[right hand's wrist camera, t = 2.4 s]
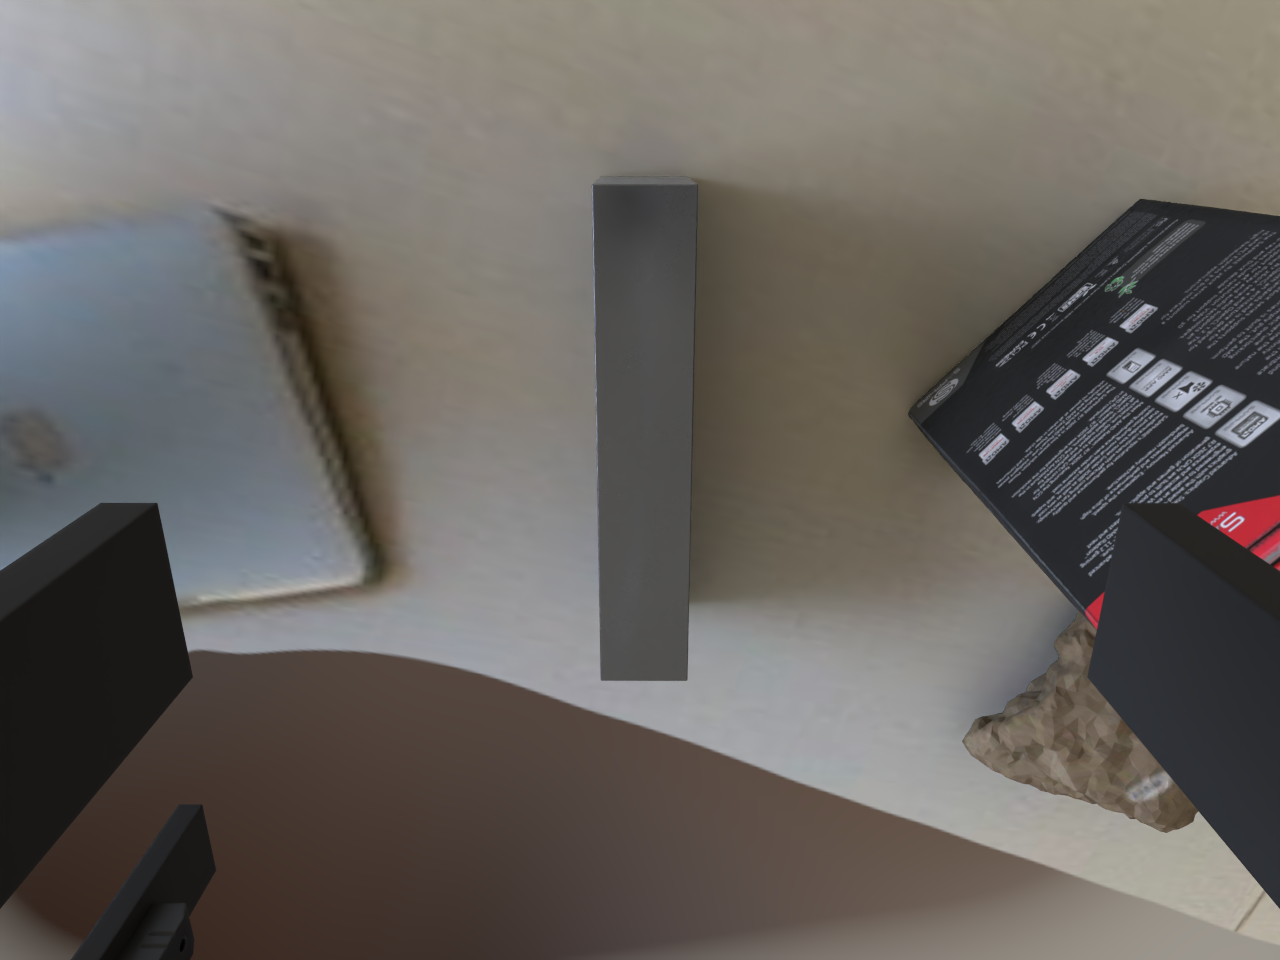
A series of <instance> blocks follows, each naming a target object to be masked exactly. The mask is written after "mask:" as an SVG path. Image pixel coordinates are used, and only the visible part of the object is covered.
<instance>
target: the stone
mask: <svg viewBox="0 0 1280 960" xmlns="http://www.w3.org/2000/svg"><path fill="white" fill-rule="evenodd" d="M1096 632H1097V630H1096V629H1095V628H1094V627H1093V626H1092V625H1091V624H1090V623H1089V622H1088V621H1087V619H1086V618H1085V617H1084V616H1083V615H1082V614H1081V613H1080V612H1078V614H1077V616H1076V618H1075V620H1074V621H1073V622H1072V623H1071V625H1070V626H1069V627H1068V628H1067V629H1066V630H1064V631H1063V632H1062V633H1061V634H1060V635H1059V637H1058V638H1057V640H1056V641H1055V643H1054V647H1055V649H1056V651H1057V653H1058V655H1059V659H1058V660H1057V661H1056V662H1055V663H1053V664H1052V665H1051V666H1050V667H1049V669H1048V671H1047V673H1045V674H1043V675H1041V676H1040V677H1038V678H1036V679H1035V680H1033V681H1032V682H1031V683H1030V684H1029V686H1028V688H1027V691H1026V692H1025V693H1022V694H1019V695H1017V697H1016V698H1014V699H1012V700H1011V701H1009V702H1008V703H1007V705H1006V707H1005V709H1004V711H1003V713H999V714H995V715H990V716H983V717H980V718H978V719H976V720H975V721H974V723H973V725H972V727H971V729H970V731H969V732H968V733H967V734H966V736H965V738H964V739H963V741H962V742H963V743H964V745H965V746H966V748H967V749H968V751H969V752H970V754H971V755H972V756H973V757H975V758H976V759H978V760H979V761H980V762H982V763H983V764H984V765H986V766H987V767H989V768H990V769H991V770H993V771H996V772H998V773H1001V774H1002V775H1004V776H1005V777H1007V778H1009V779H1012V780H1015V781H1018V782H1020V783H1023V784H1030V785H1032V786H1034V787H1036V788H1038V789H1039V790H1041V791H1045V792H1049V793H1052V794H1054V795H1055V794H1060V795H1067V796H1070V797H1072V798H1075V799H1081V800H1083V801H1086V802H1089V803H1092V804H1098V805H1099V806H1101V807H1103V808H1105V809H1107V810H1110V811H1114V812H1120V813H1125V814H1126V815H1127V816H1128V817H1129V818H1130V819H1137V820H1139V821H1140V822H1141V823H1144V824H1147V825H1149V826H1151V827H1153V828H1155V829H1157V830H1159V831H1161V832H1165V833H1167V832H1169V831H1172V830H1175V829H1180V828H1182V827H1184V826H1186V825H1188V824H1190V823H1191V822H1193V821H1194V817H1195V814H1196V813H1197V812H1198V810H1197V809H1196V807H1195V806H1194V805H1193V804H1192V803H1191V801H1190V800H1189V799H1188V798H1187V797H1186V795H1185V794H1184V793H1183V792H1182V791H1181V789H1180V788H1179V787H1178V786H1177V784H1176V783H1175V782H1174V781H1173V780H1172V778H1171V777H1170V776H1169V775H1168V774H1167V772H1166V771H1165V770H1164V769H1163V768H1162V766H1161V765H1160V764H1159V763H1158V762H1157V760H1156V759H1155V758H1154V757H1153V756H1152V754H1151V753H1150V752H1149V751H1148V750H1147V748H1146V747H1145V746H1144V745H1143V744H1142V742H1141V741H1140V740H1139V739H1138V738H1137V736H1136V735H1135V734H1134V733H1133V732H1132V730H1131V729H1130V728H1129V727H1128V726H1127V724H1126V723H1125V722H1124V721H1123V720H1122V718H1121V717H1120V716H1119V715H1118V714H1117V712H1116V711H1115V710H1114V709H1113V708H1112V706H1111V705H1110V704H1109V703H1108V702H1107V700H1106V699H1105V698H1104V697H1103V696H1102V694H1101V693H1100V692H1099V691H1098V689H1097V688H1096V687H1095V686H1094V685H1093V683H1092V682H1091V681H1090V680H1089V679H1088V677H1087V676H1088V671H1089V666H1090V661H1091V656H1092V651H1093V646H1094V641H1095V637H1096Z"/></svg>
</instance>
